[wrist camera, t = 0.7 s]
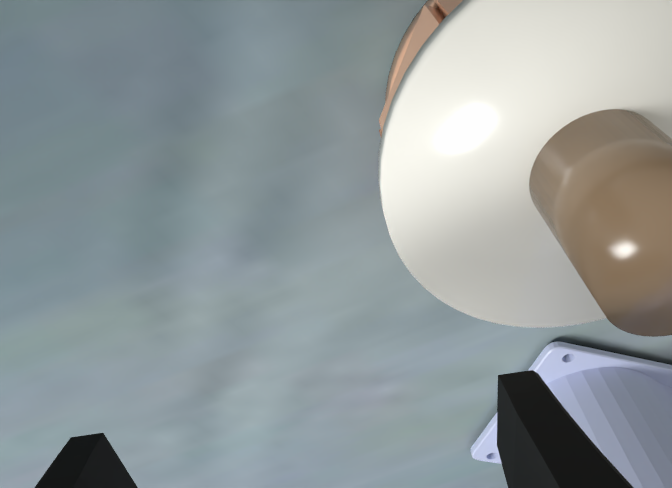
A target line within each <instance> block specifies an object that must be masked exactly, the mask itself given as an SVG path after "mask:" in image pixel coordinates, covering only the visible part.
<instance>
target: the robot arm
mask: <svg viewBox="0 0 672 488" xmlns="http://www.w3.org/2000/svg"><path fill="white" fill-rule="evenodd" d="M470 450H471V454H472V457H473V458H474V459H476V460H480V461H487V462H494V463H500V464H502V466H503V470H504V474H505V477H506V481H507V484H508V488H672V365H669V364H665V363H660V362H655V361H650V360H646V359H641V358H636V357H631V356H627V355H622V354H617V353H612V352H608V351H603V350H598V349H593V348H589V347H584V346H579V345H574V344H570V343H565V342H557V341H556V342H552V343H550V344H548V345H547V346H546V347H545V348H544V349H543V351H542V352H541V353H540V355H539V356H538V357H537V359H536V360H535V362H534V363H533V364H532V366H531V367H530V368H529V370H528V371H524V372H517V373H510V374H503V375H498V407H497V413H496V414H495V416H494V417H493V418H492V420H491V421H490V423H489V424H488V425H487V427H486V428H485V429H484V431H483V432H482V433H481V435H480V436H479V437H478V439H477V440H476V442H475V443H474V444H473V446H472V447H471V449H470ZM35 488H137V486H136V484H135V483H134V481H133V480H132V478H131V476H130V475H129V473H128V472H127V470H126V468H125V467H124V465H123V464H122V462H121V461H120V459H119V457H118V456H117V454H116V453H115V451H114V449H113V448H112V446H111V445H110V443H109V441H108V440H107V438H106V437H105V435H104V433H99V434H92V435H85V436H78V437H71V438H70V440H69V441H68V442H67V444H66V445H65V446H64V448H63V449H62V450H61V452H60V453H59V454H58V456H57V457H56V459H55V460H54V461H53V463H52V464H51V465H50V467H49V468H48V470H47V471H46V472H45V474H44V475H43V477H42V478H41V479H40V481H39V482H38V484H37V485H36V486H35Z"/></svg>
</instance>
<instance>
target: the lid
mask: <svg viewBox="0 0 672 488" xmlns="http://www.w3.org/2000/svg"><path fill="white" fill-rule="evenodd" d="M378 181H379V190H380V199H381V203H382V207H383V212H384V216H385V219H386V223H387V227H388V230H389V234H390V237H391V239H392V242H393V244H394V246H395V248H396V250H397V253H398V255H399V257H400V258H401V260H402V261H403V263H404V264H405V266H406V267H407V269H408V270H409V272H410V273H411V274H412V275H413V276H414V277H415V278H416V279H417V281H418V282H419V283H420V284H421V285H422V286H423V287H424V288H425V289H427V290H428V291H429V292H430V293H432V294H433V295H434V296H435V297H437V298H438V299H439V300H441V301H442V302H444V303H446V304H448V305H449V306H451V307H453V308H454V309H456V310H458V311H461V312H463V313H465V314H468V315H470V316H473V317H475V318H478V319H482V320H486V321H489V322H493V323H497V324H503V325H509V326H516V327H533V328H545V327H563V326H570V325H577V324H584V323H589V322H593V321H597V320H601V319H606V318H607V319H608V320H609V321H610V322H611V323H612V324H613V325H615V326H616V327H618V328H619V329H621V330H623V331H625V332H628V333H631V334H635V335H641V336H667V335H672V0H463V1H462V2H461V3H460V4H459V5H458V6H457V7H456V8H455V9H454V10H453V11H452V12H451V13H450V14H448V15H447V16H446V17H445V18H444V19H443V20H442V22H441V23H440V24H439V25H438V27H437V28H436V29H435V30H434V31H433V33H432V34H431V35H430V36H429V38H428V39H427V40H426V41H425V43H424V44H423V45H422V46H421V48H420V49H419V51H418V53H417V54H416V56H415V57H414V59H413V61H412V62H411V64H410V65H409V67H408V68H407V70H406V72H405V73H404V75H403V78H402V80H401V82H400V84H399V86H398V88H397V90H396V92H395V94H394V97H393V99H392V101H391V104H390V107H389V111H388V114H387V117H386V120H385V123H384V126H383V131H382V137H381V142H380V148H379V160H378Z"/></svg>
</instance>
